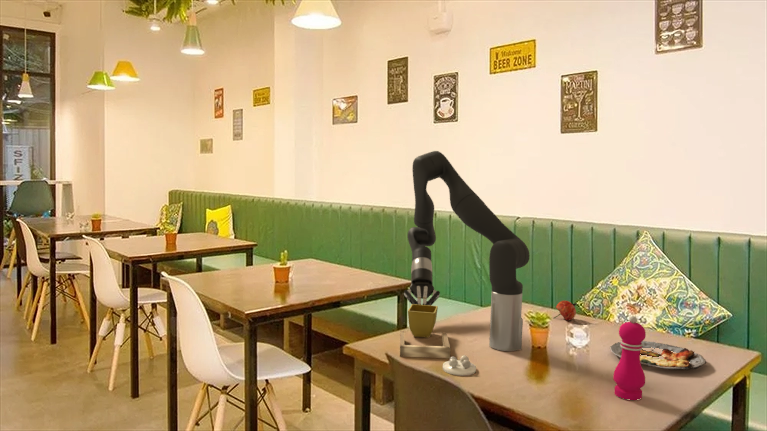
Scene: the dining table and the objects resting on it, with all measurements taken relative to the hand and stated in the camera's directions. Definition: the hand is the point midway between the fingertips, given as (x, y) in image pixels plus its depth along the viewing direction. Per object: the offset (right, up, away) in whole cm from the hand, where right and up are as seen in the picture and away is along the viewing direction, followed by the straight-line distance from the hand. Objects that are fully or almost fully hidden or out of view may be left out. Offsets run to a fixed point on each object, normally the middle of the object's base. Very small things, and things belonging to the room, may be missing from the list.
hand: (421, 315), depth 193 cm
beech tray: (-1, -6, -20) cm, 21 cm away
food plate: (+67, -9, -25) cm, 72 cm away
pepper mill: (+47, -11, -52) cm, 71 cm away
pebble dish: (+8, -8, -37) cm, 39 cm away
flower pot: (0, -5, -7) cm, 9 cm away
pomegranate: (+53, -4, +16) cm, 56 cm away
